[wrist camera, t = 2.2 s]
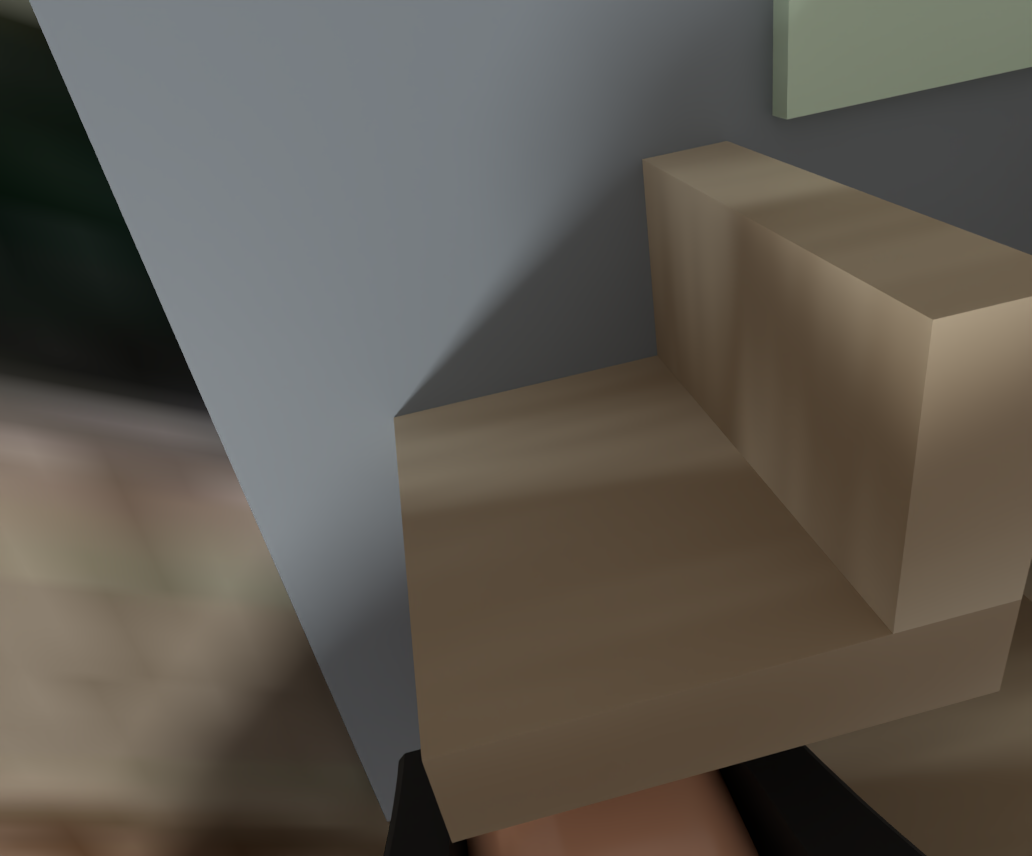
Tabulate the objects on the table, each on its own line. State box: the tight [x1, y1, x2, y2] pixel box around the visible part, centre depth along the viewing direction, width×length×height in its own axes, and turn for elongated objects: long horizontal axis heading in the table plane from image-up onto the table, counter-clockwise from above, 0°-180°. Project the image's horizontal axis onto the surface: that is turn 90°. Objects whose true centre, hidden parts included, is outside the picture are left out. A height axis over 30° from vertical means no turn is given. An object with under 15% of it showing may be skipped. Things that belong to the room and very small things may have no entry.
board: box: [29, 0, 1032, 822], centre depth 12 cm, size 18×16×1 cm
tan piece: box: [394, 141, 1032, 856], centre depth 11 cm, size 12×13×6 cm
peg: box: [466, 769, 759, 856], centre depth 10 cm, size 4×4×8 cm
